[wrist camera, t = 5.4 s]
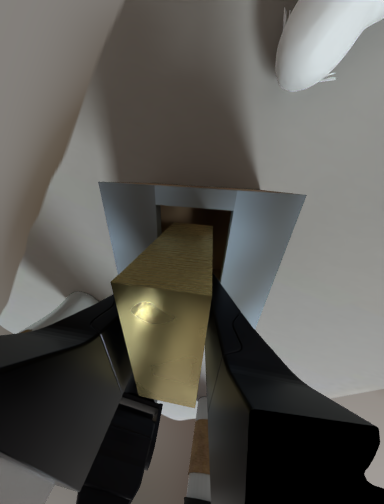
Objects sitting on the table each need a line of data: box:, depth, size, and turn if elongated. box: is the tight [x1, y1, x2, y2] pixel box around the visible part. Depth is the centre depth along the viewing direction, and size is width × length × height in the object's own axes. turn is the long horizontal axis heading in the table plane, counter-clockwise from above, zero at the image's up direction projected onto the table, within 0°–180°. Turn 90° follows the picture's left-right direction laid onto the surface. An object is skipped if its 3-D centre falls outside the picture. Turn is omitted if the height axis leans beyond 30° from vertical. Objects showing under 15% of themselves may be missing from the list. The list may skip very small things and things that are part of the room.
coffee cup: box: [184, 397, 211, 504], centre depth 28 cm, size 8×8×15 cm
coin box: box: [98, 182, 306, 329], centre depth 13 cm, size 11×10×8 cm
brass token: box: [111, 222, 213, 408], centre depth 7 cm, size 2×6×6 cm, turn 177°
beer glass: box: [17, 292, 98, 334], centre depth 18 cm, size 7×7×15 cm
